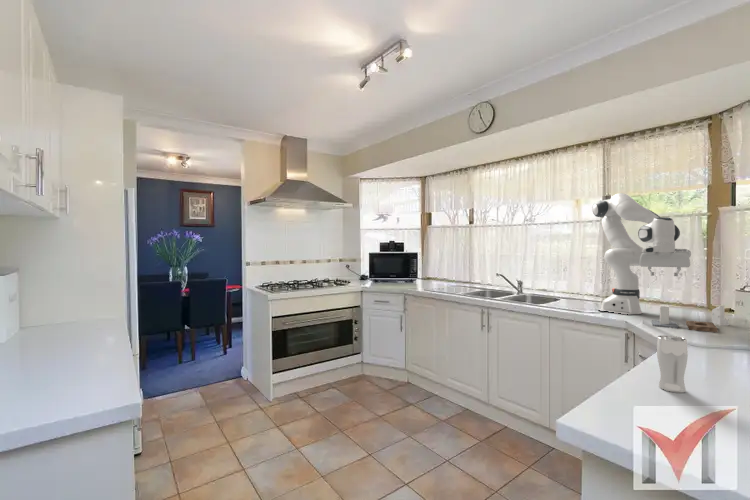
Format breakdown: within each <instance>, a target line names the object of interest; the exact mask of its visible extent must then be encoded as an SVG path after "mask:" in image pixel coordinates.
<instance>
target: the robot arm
mask: <svg viewBox="0 0 750 500" xmlns="http://www.w3.org/2000/svg"><path fill="white" fill-rule="evenodd" d="M591 208H592V209H591V211H592V213H593V215H594V217H596V218H602V219H601V226H602V229H603V233H604V235H605V237H606V240H607V242H608V244H609V245H610V246H612V248H610V249H607V250H606V251H605V252H604V256H603V258H604V259H603V260H604V261H605V264H606V265H608V266H610V268H612V270H613V272H614V275H615V283H616V285H615V287H616V288H614V287H613V288H612V289H611V292H612V294H610V295H609V296H608V297H606V298H604V299H603V300H602V303H601V306H600V307H601V309H602V310H607V311H609V312H614V313H613V314H618V313H621V314H620V315H627V314H628V316H629V315H640V314H643V311H642V309H641V304H640V303H641V302H640V298H641V293H640V289H639V276H638V274H637V273H636V272H635V273H634V272H633V271H632V269H631V267H635V266H637V267H638V266H640V267H641V268H642V267H643V268H644V267H647V269H648V271H649V272H650V276H655V272H654V271H652V270H651V269H652V267H653V268H655V267H656V268H676V272H674V273H673V276H674V277H679V273H680V271H682V268H689V267H691V260H690V258H691V255H692V252H691V250H690V249H688V248H676V241H677V240H678V239H679V237H680V235H681V231H680V229H679V227H678V226H677V224H675V221H674V219H673V218H671V217H664V216H660V215H658V214H657V213H656V212H654V211H652V210H650V209H648V208H646V207H645V206H643V205H641V204H639V203H638V202H637V201H636V200H634V199H633V198H632V197H631V196H630V195H628V194H627V193H623V192H618V193H616V194H614V195H613V196H612V197H611V198H608V199H603V200H598V201H595V202H594V203H593V205H592V207H591ZM622 219H623V220H625V221H629V222H630V221H631V222H641V223H646V224H645V225H642V226H641V227H639V229H638V232H637V234H638V235H637V236H638V238H639V240H640V242H643V243H652V246H651V245H650V246H646V247H644V248H643V247H642V246H640V245H639V244H637V242H635V241H634V240H633V239H632V238H631V237H630V235H629V234H628V231H627V230H626V228H625V226H624V224H623V222H622Z"/></svg>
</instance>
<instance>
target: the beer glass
mask: <svg viewBox="0 0 750 500" xmlns="http://www.w3.org/2000/svg"><path fill="white" fill-rule="evenodd" d="M656 341H657V343H656V357H657V362H658V366H659V372H660V379H659V383H658V387H659V389H661V390H663V389H664V390H663V391H665V390H667V391H666V392H669V391H670V392H669V393H674V392H675V394H685V393H686V391H687V389H686V386H685V374H686V373H685V372H686V368H687V365H688V355H689V353H688V351H689V350H688V344H687V341H688V340H687V339H686V338H684V337H681V336H675V335H665V334H664V335H662V334H661V335H658V336H657V340H656Z"/></svg>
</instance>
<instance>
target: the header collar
mask: <svg viewBox="0 0 750 500" xmlns="http://www.w3.org/2000/svg"><path fill="white" fill-rule="evenodd" d="M685 325H686V327H687V328H688V330H690V331H697V332H698V331H699V332H709V333H710V332H711V333H718V327H717V325H716V324H714V323H712V321H710V322H709V321H700V320H699V321H698V320H688V319H687V320H685Z"/></svg>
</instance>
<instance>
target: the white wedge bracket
mask: <svg viewBox="0 0 750 500" xmlns="http://www.w3.org/2000/svg"><path fill="white" fill-rule="evenodd" d="M711 322H712V323H713V324H714V325H716V326H730V320H729V318H725V305H718V306H717V307H715V308H713V309H711Z"/></svg>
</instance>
